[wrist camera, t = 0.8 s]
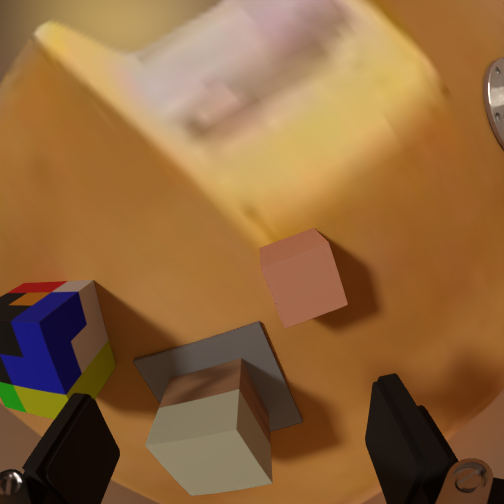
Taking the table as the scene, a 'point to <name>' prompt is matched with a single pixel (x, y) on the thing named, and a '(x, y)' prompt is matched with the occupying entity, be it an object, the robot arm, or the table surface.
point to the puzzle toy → (52, 346)
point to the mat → (221, 351)
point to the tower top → (211, 444)
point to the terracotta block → (302, 277)
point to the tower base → (218, 389)
